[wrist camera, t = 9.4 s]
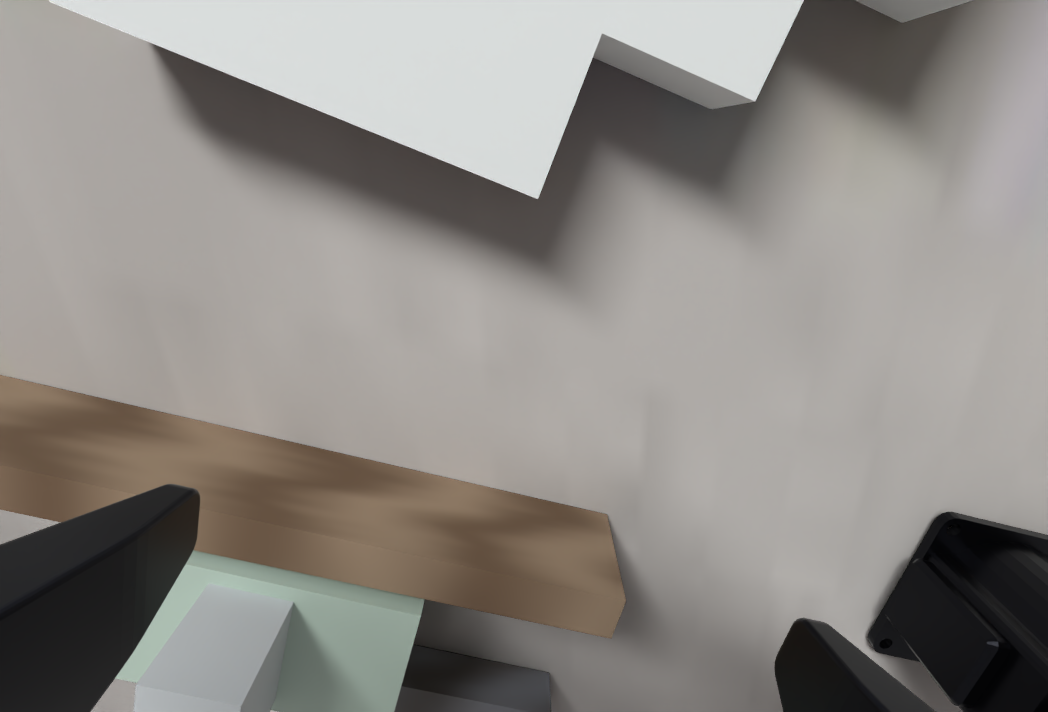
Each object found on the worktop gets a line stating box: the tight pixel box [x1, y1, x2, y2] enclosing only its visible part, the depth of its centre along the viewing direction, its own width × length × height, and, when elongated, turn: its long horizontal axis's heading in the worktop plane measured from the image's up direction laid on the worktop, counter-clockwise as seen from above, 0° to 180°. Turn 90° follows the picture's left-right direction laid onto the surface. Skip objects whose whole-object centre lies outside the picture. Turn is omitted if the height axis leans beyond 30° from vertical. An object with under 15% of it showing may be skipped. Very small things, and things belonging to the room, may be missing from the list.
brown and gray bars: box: [0, 375, 626, 712], centre depth 21 cm, size 22×10×4 cm, turn 75°
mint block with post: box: [116, 550, 425, 712], centre depth 19 cm, size 10×5×8 cm, turn 74°
